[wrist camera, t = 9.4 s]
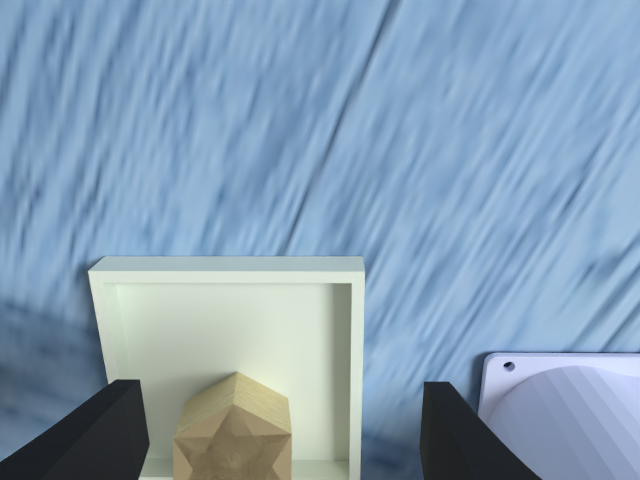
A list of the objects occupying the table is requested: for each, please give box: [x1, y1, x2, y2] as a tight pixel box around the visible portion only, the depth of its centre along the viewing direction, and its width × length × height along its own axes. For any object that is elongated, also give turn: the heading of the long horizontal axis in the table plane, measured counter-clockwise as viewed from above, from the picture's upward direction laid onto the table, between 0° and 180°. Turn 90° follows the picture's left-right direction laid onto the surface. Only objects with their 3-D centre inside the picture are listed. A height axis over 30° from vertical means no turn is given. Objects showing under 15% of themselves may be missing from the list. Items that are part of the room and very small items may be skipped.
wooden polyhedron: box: [173, 372, 292, 480], centre depth 22 cm, size 5×5×3 cm
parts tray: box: [88, 256, 365, 480], centre depth 23 cm, size 11×11×2 cm
